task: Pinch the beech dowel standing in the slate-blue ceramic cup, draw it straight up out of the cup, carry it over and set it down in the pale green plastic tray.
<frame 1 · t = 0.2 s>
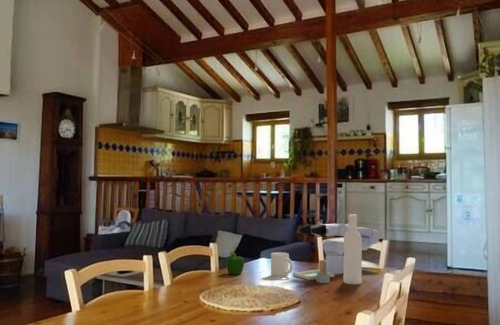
hand: (306, 230, 213), 21 cm above the table, tool horizontal, fingers open, 7 cm apart
tray: (313, 276, 213), on the table
cup: (323, 282, 201), on the table
mug: (282, 276, 213), on the table
bottle: (352, 283, 200), on the table
dowel: (323, 281, 201), resting on cup
bell pepper: (235, 274, 217), on the table
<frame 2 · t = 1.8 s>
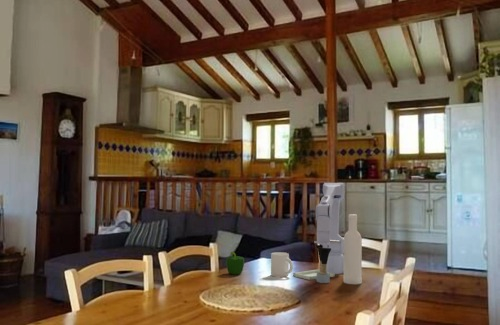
hand: (323, 262, 201), 9 cm above the table, tool pointing down, fingers open, 7 cm apart
nothing on the table moved.
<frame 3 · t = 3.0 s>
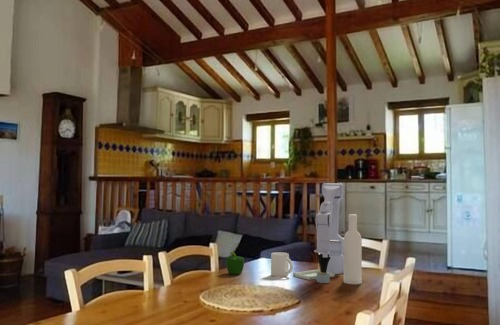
hand: (323, 271, 201), 5 cm above the table, tool pointing down, fingers closed on dowel, 3 cm apart
dowel: (323, 281, 201), resting on cup, touching gripper
everything else where it was.
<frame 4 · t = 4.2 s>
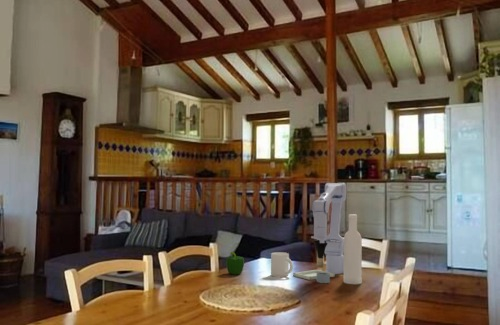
hand: (320, 257, 206), 10 cm above the table, tool pointing down, fingers closed on dowel, 3 cm apart
dowel: (320, 267, 205), point 6 cm above the table, touching gripper
everything else where it was.
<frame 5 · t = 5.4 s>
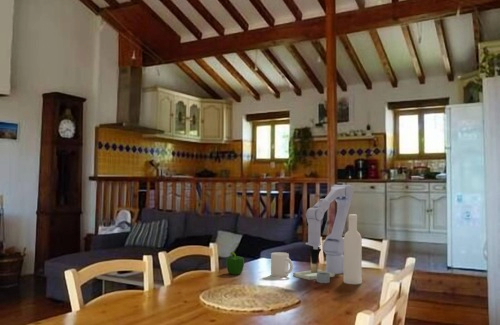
hand: (314, 263, 213), 6 cm above the table, tool pointing down, fingers closed on dowel, 3 cm apart
dowel: (313, 272, 213), point 2 cm above the table, touching gripper
everything else where it was.
when the fingers open (6 cm above the table, at t = 5.8 s): dowel drops 1 cm, resting on tray.
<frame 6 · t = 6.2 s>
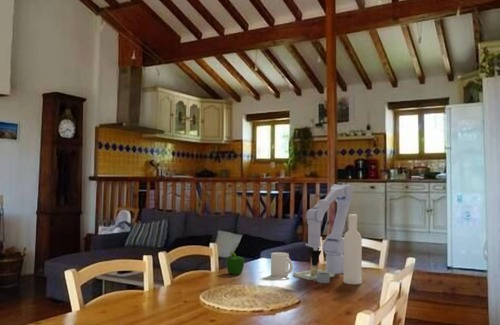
hand: (314, 264, 213), 6 cm above the table, tool pointing down, fingers open, 6 cm apart
dowel: (313, 275, 213), point 1 cm above the table, touching tray
everything else where it was.
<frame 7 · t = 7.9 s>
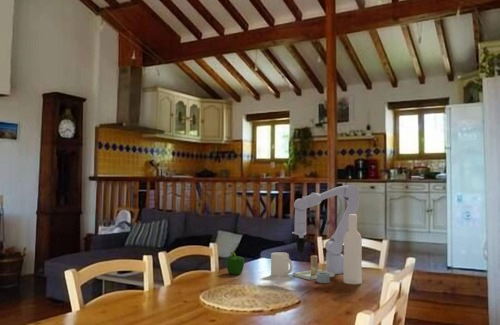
hand: (300, 251, 223), 10 cm above the table, tool pointing down, fingers open, 7 cm apart
nothing on the table moved.
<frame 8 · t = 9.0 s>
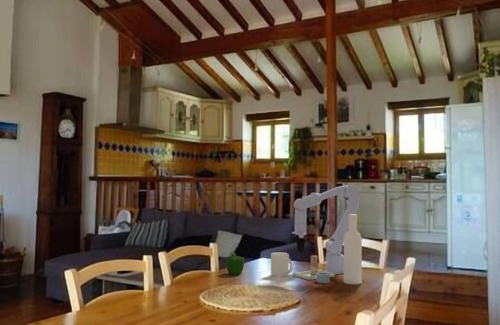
hand: (300, 251, 223), 10 cm above the table, tool pointing down, fingers open, 7 cm apart
nothing on the table moved.
at the end: dowel inside the target area on the tray (0.0 cm from its centre), point 0.6 cm above the tray's base; the gripper is holding nothing; dowel touching tray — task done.
